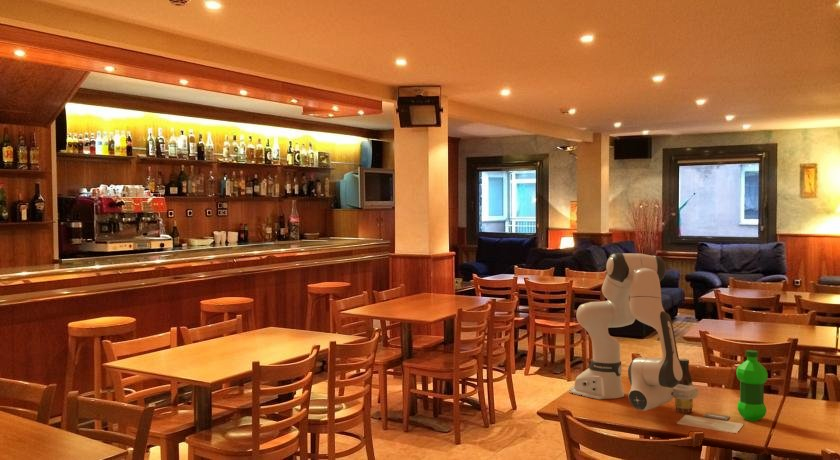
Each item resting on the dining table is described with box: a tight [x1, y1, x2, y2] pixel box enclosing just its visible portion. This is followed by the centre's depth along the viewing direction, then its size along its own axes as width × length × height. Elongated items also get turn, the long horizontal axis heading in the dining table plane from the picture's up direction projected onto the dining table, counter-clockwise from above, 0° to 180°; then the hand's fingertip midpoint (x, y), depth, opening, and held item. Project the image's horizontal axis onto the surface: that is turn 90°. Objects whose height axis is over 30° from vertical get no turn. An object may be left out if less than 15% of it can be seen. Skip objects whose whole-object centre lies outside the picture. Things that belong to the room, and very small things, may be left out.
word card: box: [703, 412, 730, 421], centre depth 256 cm, size 8×5×1 cm, turn 54°
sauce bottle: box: [674, 358, 694, 414], centre depth 263 cm, size 7×6×20 cm
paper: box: [676, 414, 745, 435], centre depth 248 cm, size 20×12×1 cm, turn 54°
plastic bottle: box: [735, 349, 769, 422], centre depth 253 cm, size 10×10×25 cm
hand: (678, 384), depth 261 cm, fingers open, 8 cm apart
